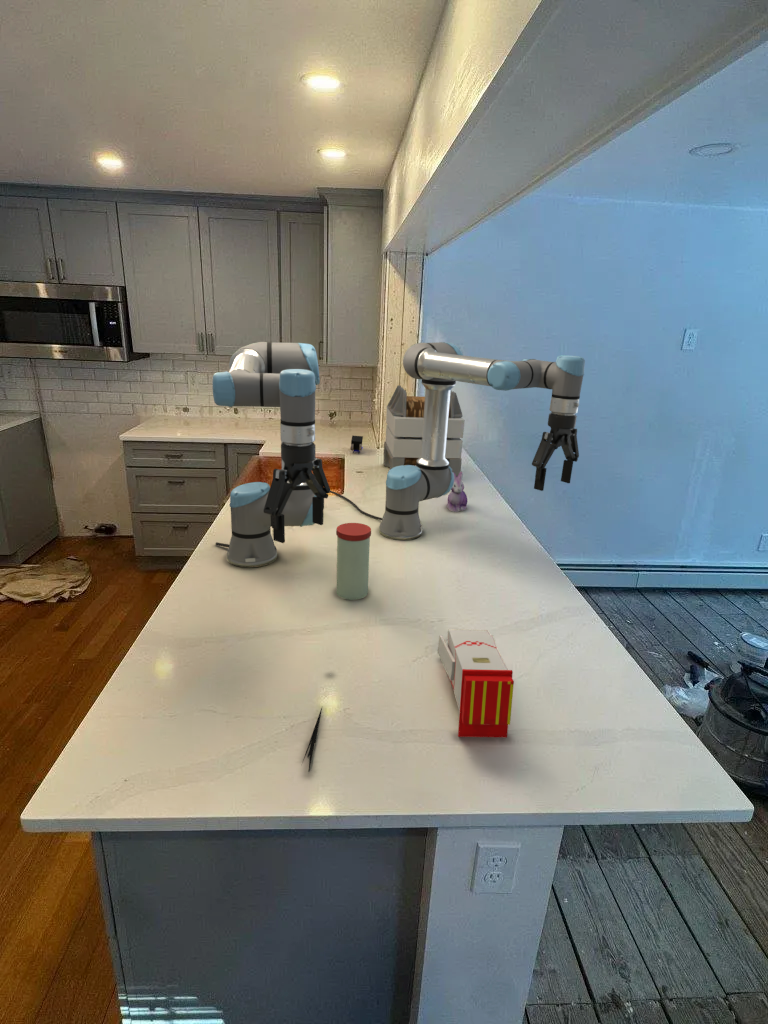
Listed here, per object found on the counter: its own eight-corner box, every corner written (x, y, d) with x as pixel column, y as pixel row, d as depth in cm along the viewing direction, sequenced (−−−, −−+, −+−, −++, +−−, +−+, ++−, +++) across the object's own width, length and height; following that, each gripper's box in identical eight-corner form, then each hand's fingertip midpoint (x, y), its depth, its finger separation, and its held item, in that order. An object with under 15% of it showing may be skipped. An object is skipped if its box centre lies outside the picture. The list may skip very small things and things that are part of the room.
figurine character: (362, 457, 305) (363, 447, 318) (362, 443, 301) (363, 434, 315) (350, 456, 304) (351, 447, 318) (350, 443, 301) (351, 434, 314)
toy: (488, 613, 130) (523, 677, 101) (484, 667, 133) (517, 744, 104) (435, 612, 130) (455, 676, 101) (432, 666, 133) (451, 743, 103)
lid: (375, 539, 149) (376, 533, 149) (342, 542, 146) (342, 537, 146) (364, 526, 157) (364, 521, 157) (332, 529, 154) (332, 524, 154)
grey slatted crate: (382, 463, 289) (386, 382, 275) (445, 464, 293) (451, 384, 279) (390, 482, 257) (394, 392, 243) (460, 483, 261) (468, 394, 247)
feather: (331, 679, 122) (336, 673, 122) (307, 777, 96) (313, 769, 95) (324, 675, 122) (329, 669, 121) (298, 772, 95) (304, 764, 95)
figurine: (454, 513, 222) (457, 476, 217) (439, 505, 230) (442, 470, 225) (473, 510, 226) (477, 474, 221) (459, 503, 234) (462, 468, 229)
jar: (372, 597, 155) (374, 534, 149) (341, 601, 152) (342, 538, 146) (361, 583, 163) (363, 523, 157) (332, 587, 160) (333, 526, 154)
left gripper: (271, 456, 112) (273, 554, 120) (345, 435, 132) (344, 520, 140) (243, 450, 116) (248, 545, 123) (320, 430, 136) (320, 513, 143)
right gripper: (548, 419, 148) (537, 496, 155) (598, 411, 163) (586, 482, 171) (525, 414, 153) (515, 489, 160) (575, 407, 169) (564, 476, 176)
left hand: (299, 532), depth 132 cm, fingers open, 13 cm apart
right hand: (552, 485), depth 166 cm, fingers open, 13 cm apart
